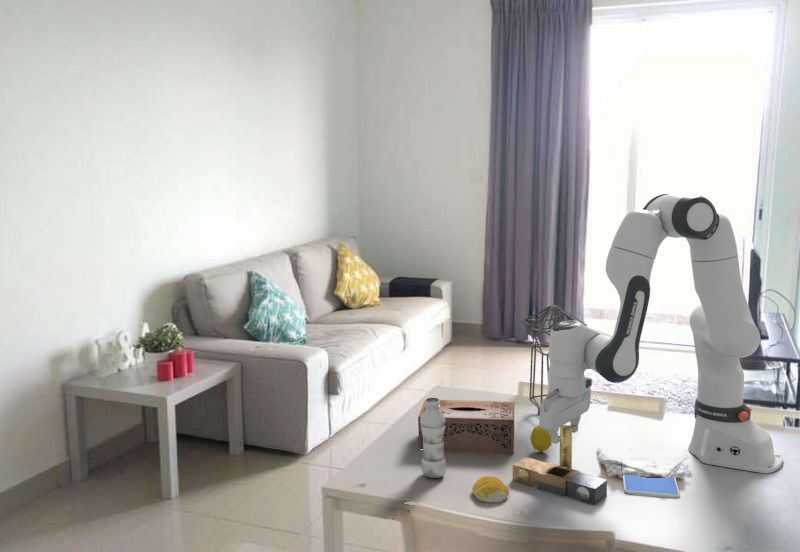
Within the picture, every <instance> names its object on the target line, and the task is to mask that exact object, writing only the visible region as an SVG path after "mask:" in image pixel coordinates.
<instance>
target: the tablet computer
mask: <svg viewBox="0 0 800 552" xmlns="http://www.w3.org/2000/svg"><path fill="white" fill-rule="evenodd" d="M622 482H623V485H622V486H623V493H625V494H626V495H636V496H644V497H645V496H647V497H659V498H669V499H670V498H671V499H679V498H680V497H681V495H680V491H679V486H678V483H677V479H676V476H675V477H674V476H673V477H670V478H646V477H640V476H634V475H623V476H622Z"/></svg>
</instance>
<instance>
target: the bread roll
mask: <svg viewBox="0 0 800 552" xmlns="http://www.w3.org/2000/svg"><path fill="white" fill-rule="evenodd" d="M471 491H472V495H473V496H475V497H476V499H477V500H479V501H480V502H484V503H488V504H489V503H490V504H492V503H493V504H494V503H500V502H503V501H506V499H507V497H509V495H510V489H509V488H508V486H506V485H505V484H504V482H503V481H502V480H501V479H500V478H498V477H496V476H491V475H486V476H485V475H484V476H481V477H479V478H478V479H477V480H476V481H475V482H474V484H473V486H472V490H471Z"/></svg>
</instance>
